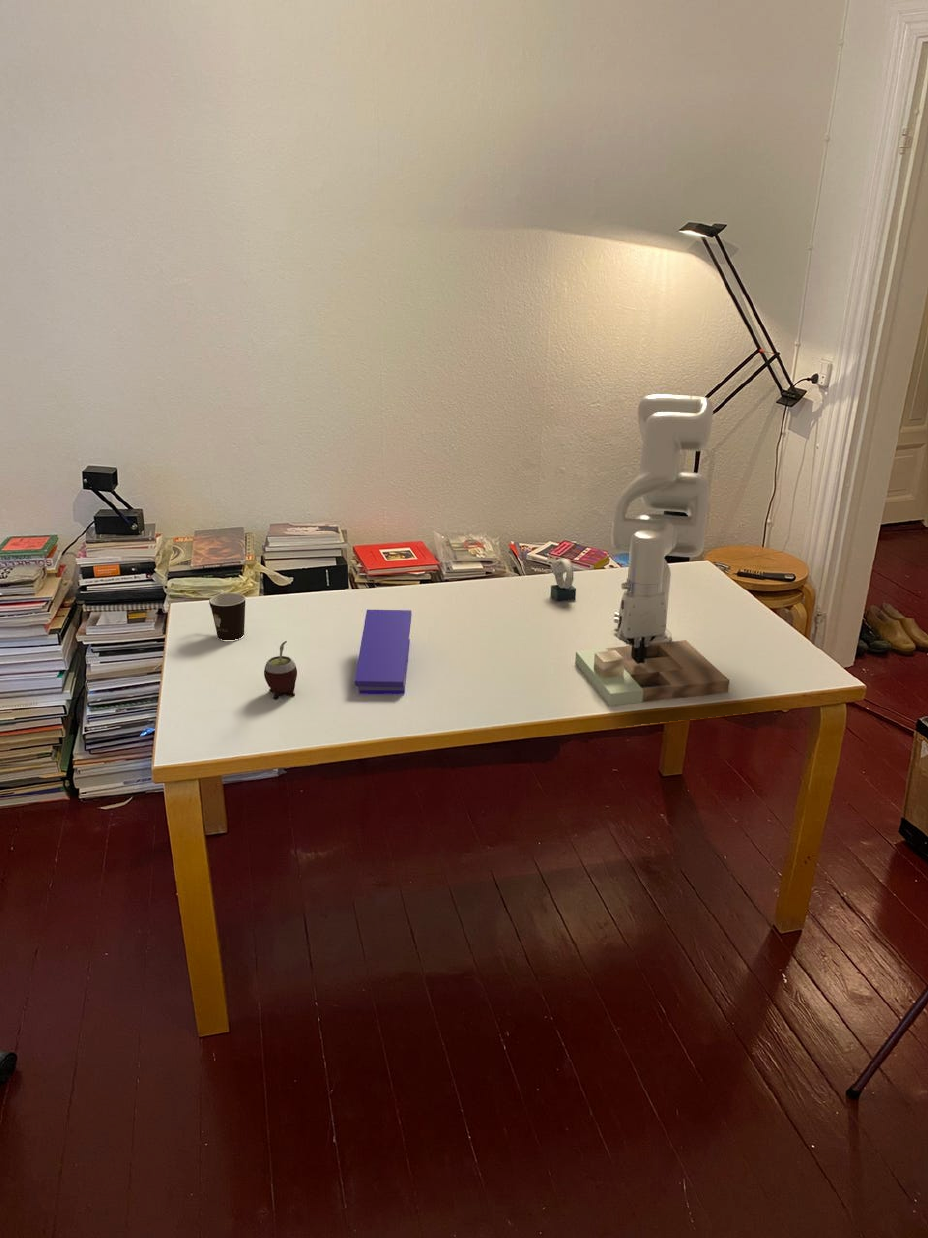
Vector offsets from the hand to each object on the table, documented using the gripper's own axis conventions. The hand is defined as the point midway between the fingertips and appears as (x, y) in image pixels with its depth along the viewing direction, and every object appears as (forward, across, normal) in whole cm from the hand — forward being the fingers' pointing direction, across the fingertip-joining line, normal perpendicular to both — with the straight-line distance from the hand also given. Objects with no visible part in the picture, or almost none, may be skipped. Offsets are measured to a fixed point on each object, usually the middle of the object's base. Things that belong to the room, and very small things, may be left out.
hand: (638, 660), depth 227 cm
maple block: (+1, -8, -2) cm, 8 cm away
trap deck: (+4, +7, 0) cm, 8 cm away
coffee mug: (+4, -90, +45) cm, 101 cm away
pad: (+4, -7, -1) cm, 9 cm away
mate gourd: (+4, -79, +10) cm, 80 cm away
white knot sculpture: (+5, -1, +50) cm, 50 cm away
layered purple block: (+5, -55, +18) cm, 58 cm away
